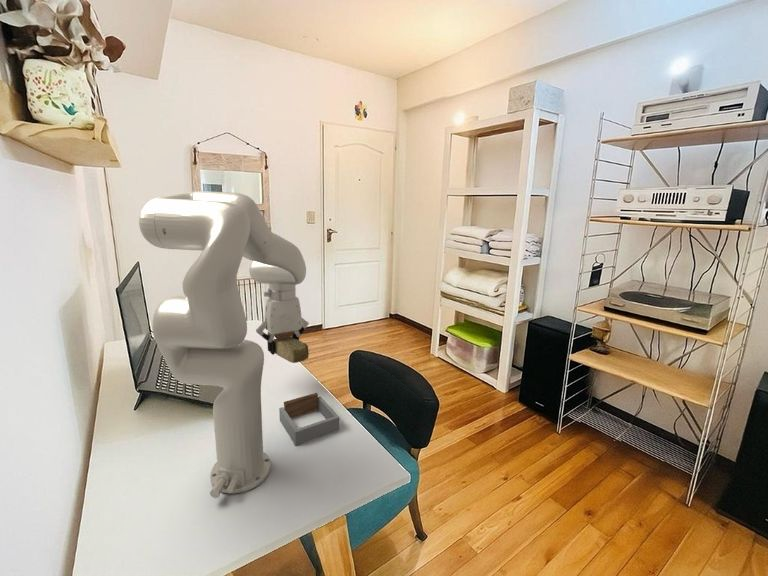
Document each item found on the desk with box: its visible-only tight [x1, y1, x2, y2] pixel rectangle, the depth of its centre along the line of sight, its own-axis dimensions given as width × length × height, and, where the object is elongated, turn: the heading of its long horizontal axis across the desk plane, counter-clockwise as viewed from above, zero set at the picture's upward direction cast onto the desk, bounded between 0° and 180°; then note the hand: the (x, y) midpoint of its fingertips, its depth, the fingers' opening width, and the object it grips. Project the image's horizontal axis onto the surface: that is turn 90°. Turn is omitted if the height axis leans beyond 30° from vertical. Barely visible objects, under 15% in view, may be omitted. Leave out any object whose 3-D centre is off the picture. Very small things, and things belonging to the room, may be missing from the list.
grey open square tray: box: [278, 395, 341, 447], centre depth 97 cm, size 12×12×4 cm
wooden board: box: [283, 392, 319, 419], centre depth 101 cm, size 1×10×5 cm, turn 125°
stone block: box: [273, 335, 310, 364], centre depth 107 cm, size 6×12×5 cm, turn 50°
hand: (283, 350), depth 109 cm, fingers closed on stone block, 6 cm apart
